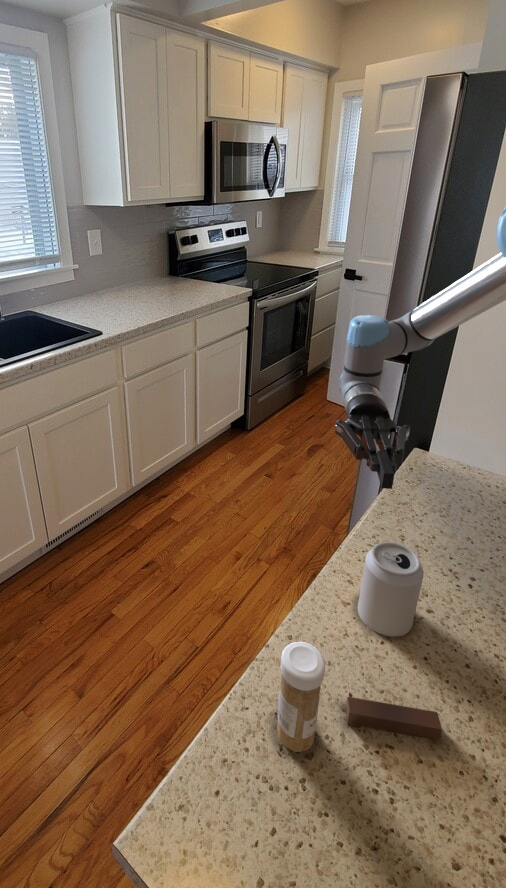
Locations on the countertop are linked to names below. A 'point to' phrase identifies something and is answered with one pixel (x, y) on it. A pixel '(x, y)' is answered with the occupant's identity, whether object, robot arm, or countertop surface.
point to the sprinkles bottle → (299, 695)
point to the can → (390, 588)
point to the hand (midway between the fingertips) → (388, 481)
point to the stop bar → (393, 718)
